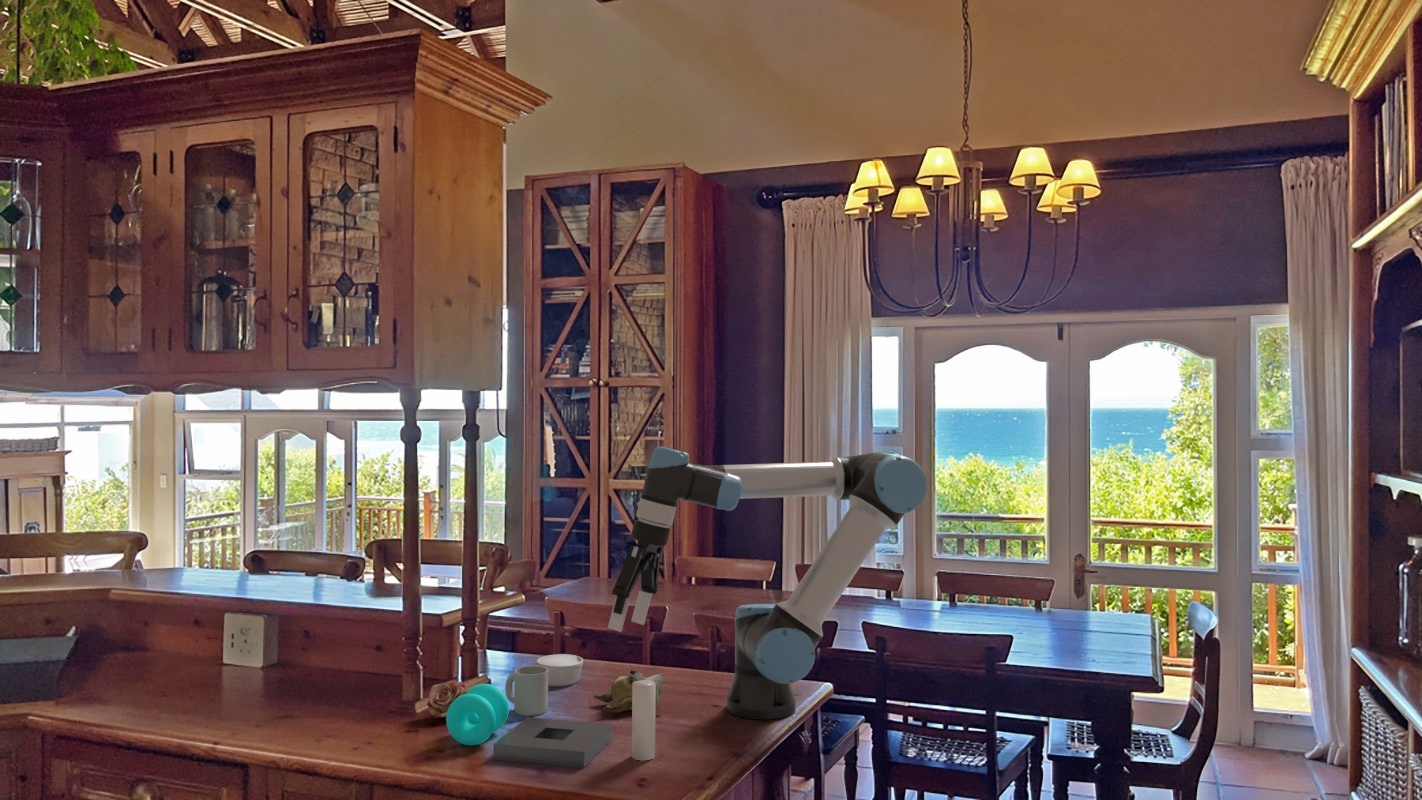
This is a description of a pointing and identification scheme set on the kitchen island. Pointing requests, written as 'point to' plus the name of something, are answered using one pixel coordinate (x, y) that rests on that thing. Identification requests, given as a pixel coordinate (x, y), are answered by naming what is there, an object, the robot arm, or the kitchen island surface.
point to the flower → (444, 697)
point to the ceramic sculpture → (627, 691)
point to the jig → (553, 742)
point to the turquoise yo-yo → (477, 714)
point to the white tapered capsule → (643, 719)
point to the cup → (528, 690)
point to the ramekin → (562, 668)
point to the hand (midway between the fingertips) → (626, 626)
